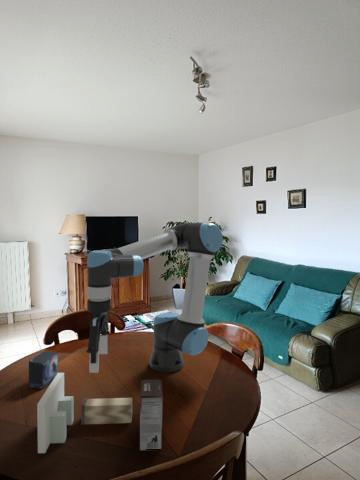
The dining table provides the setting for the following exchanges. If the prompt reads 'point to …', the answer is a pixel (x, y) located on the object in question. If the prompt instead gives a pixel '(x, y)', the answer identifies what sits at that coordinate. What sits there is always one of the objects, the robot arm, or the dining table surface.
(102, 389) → the dining table surface
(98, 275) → the robot arm
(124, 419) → the rail
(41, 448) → the base plate with tabs
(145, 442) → the coffee box
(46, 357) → the small box
